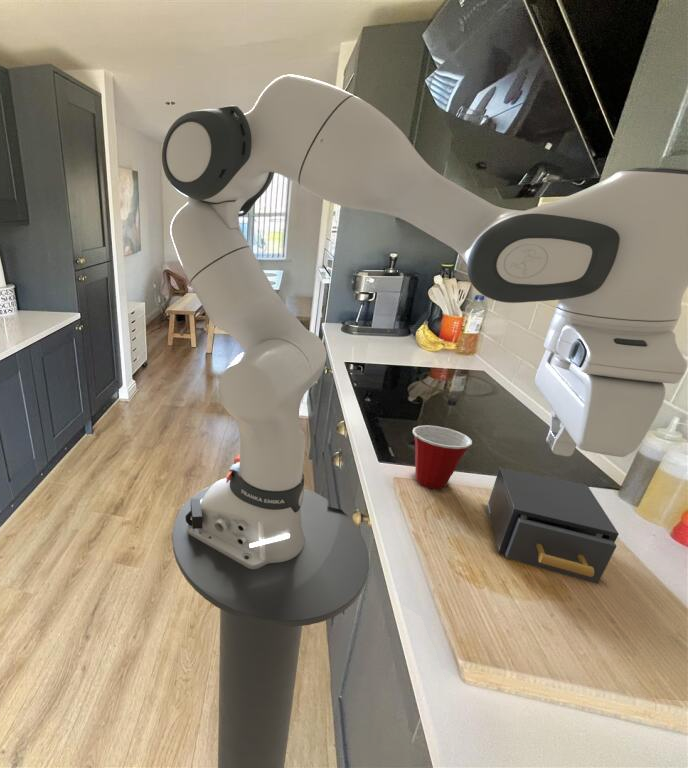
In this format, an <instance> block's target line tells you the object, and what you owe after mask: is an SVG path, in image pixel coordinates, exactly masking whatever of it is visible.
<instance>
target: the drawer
mask: <svg viewBox="0 0 688 768" xmlns="http://www.w3.org/2000/svg"><path fill="white" fill-rule="evenodd" d="M602 536H603V534H599V533H595V532H591V531H587V530H583V529H579V528H574V527H570V526H566V525H562V524H558V523H554V522H550V521H545V520H541V519H537V518H533V517H529V516H525V515H521V514H519V515H518V517H517V520H516V523H515V526H514V528H513V531H512V534H511V537H510V539H509V542H508V547H507V550H506V553H505V554H504V556H505V558H506V559H508V560H511V561H515V562H518V563H521V564H525V565H528V566H532V567H536V568H538V569H539V568H540V569H543V570H546V571H548V572H549V571H550V572H554V573H556V574H559V575H564V576H567V577H571V578H574V579H577V580H581V581H584V582H588V583H591V584H595V585H598V584H599V582H600V580H601V579H602V577H603V574H604V573H605V570H606V569H607V566H608V564H609V562H610V560H611V559H612V556H613V554H614V552H615V550H616V549H617V544H616V542H615V543H614V541H612V540H608V539H604V538H602Z"/></svg>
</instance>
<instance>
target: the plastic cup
mask: <svg viewBox="0 0 688 768" xmlns="http://www.w3.org/2000/svg"><path fill="white" fill-rule="evenodd" d="M412 434H413V437H414V446H415V447H414V449H415V451H414V455H415V456H414V465H415V472H414V473H415V479H416V481H417V482H418V483H419V484H420V485H422V486H424V487H426V488H430V489H433V490H434V489H437V490H439V489H443V488H445V487H446V485H447V484H448V482H449V481H450V480H451V479H450V478H451V476H453V474H454V472H455V470H456V468H457V466H458V465H459V463H460V461H461V459H462V458H463V456H464V454H465V452H466V451H467V450H468V449H469V447H471V446H472V445H473V440H472V439H471V438H470V437H469V436H468V435H466V434H464V433H462V432H460V431H457V430H454V429H452V428H447V427H442V426H438V425H429V424H427V425H426V424H425V425H418V426H416V427H413V429H412Z"/></svg>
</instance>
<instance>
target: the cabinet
mask: <svg viewBox="0 0 688 768" xmlns="http://www.w3.org/2000/svg"><path fill="white" fill-rule="evenodd" d="M486 509H487V514H488V517H489V521H490V526H491V528H492V529H491V530H492V532H493V536H494V540H495V544H496V548H497V552H498V553H499V554H501V555H505V553H506V550H507V547H508V542H509V539H510V537H511V534H512V531H513V528H514V526H515V523H516V520H517V517H518V515H519V514H521V515H525V516H529V517H533V518H537V519H541V520H545V521H550V522H554V523H558V524H562V525H566V526H570V527H574V528H579V529H583V530H587V531H591V532H595V533H599V534H603V536H602V538H604V539H608V540H612V541H614V543H615V544H616V541H617V539H618V536H619V531H617V529H616V527H615V526H614V523H613V522H612V521H611V519H610V518H609V516H608V515H607V513H606V512H605V510H604V509H603V507H602V506H601V504H600V502H599V501H598V500H597V498H596V496H595V495H594V493H593V492H592V490H591V489H590V487H589V486H588V484H583V483H579V482H574V481H569V480H564V479H559V478H555V477H549V476H544V475H540V474H536V473H535V474H534V473H530V472H525V471H519V470H515V469H510V468H504V467H499V469H498V471H497V475H496V478H495V480H494V483H493V486H492V490H491V493H490V496H489V500H488V502H487V505H486Z"/></svg>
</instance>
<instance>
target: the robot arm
mask: <svg viewBox="0 0 688 768" xmlns="http://www.w3.org/2000/svg"><path fill="white" fill-rule="evenodd" d="M161 162H162V163H161V164H162V169H163V172H164V175H165V176H166V179H167V181H168V183H169V184H170V185H171V186H172V187H173V188H174V190H176V191H177V192H178V193H180V194H182V195H183V196H185V197H187V198H188V199H187V201H186V203H185V204H184V205H182V206H181V207H180V208H179V209H178V211H177V212H176V214H175V215H174V216H173V219H172V220H171V224H170V236H171V240H172V242H173V246H174V249H175V252H176V255H177V258H178V260H179V262H180V266H181V267H182V270H183V272H184V274H185V276H186V278H187V280H188V282H189V283H190V285H191V287H192V290H193V292H194V293H195V295H196V297H197V298H198V300H199V302H200V304H201V306H202V308H203V310H204V312H205V313H206V315H207V318H208V319H209V321H210V323H211V324H212V325H213V326H214V327H215V328H217V329H218V330H220V331H222V332H224V333H226V334H227V335H229V336H230V337H231V338H232V339H233V340H235V342H236V343H237V344H238V345H239V346H240V347H241V348H242V349H243V352H241V353H239V354H238V355H237V356H236V357H235V358H234V359H233V360H232V361H231V363H230V364H228V366H227V367H226V368H225V370H224V371H223V372H222V374H221V376H220V378H219V381H218V395H219V399H220V402H221V404H222V406H223V408H224V409H225V411H226V412H227V413H228V414H229V415H230V416H231V417H232V418H233V419H235V420H236V423H237V427H238V434H239V453H238V454H237V455H236V457H235V458H234V459H233V464H232V465H231V466H230V467H229V471H228V473H227V475H226V477H224V478H221V479H218V480H217V481H216V482H214V483H213V484H212V485H210V486H211V487H210V486H209V487H210V488H209V489H208V491H207V492H206V494H205V495H204V497H203V498H202V499H201V500H200V498H199V499H191V511H190V512H189V513H188V514H187V515H186V522H187V531H188V533H189V534H190V535H191V536H193V537H195V538H196V539H198V540H200V541H202V542H203V543H205V544H207V545H209V546H210V547H212V548H214V549H216V550H217V551H219V552H221V553H223V554H224V555H226V556H228V557H230V558H231V559H233V560H235V561H237V562H238V563H240V564H242V565H244V566H245V567H247V568H249V569H258V568H260V567H262V566H264V565H266V564H270V563H279V562H284V561H288V560H290V559H292V558H294V557H296V556H297V555H298V554H299V553H300V552H301V551H302V549H303V547H304V543H305V537H304V533H303V529H302V524H301V512H300V507H301V505H302V503H303V496H304V488H305V474H304V463H305V454H306V443H307V439H306V435H305V432H304V431H303V430H302V429H301V423H300V414H299V412H300V406H301V403H302V400H303V398H304V396H305V394H306V393H307V392H308V391H309V389H311V388H312V387H313V386H314V385H315V384H316V383H317V382H318V381H319V379H320V378H321V376H322V374H323V372H324V368H325V365H326V362H327V350H326V347H325V346H326V345H325V344H324V342H323V341H322V339H321V338H320V337H319V336H318V335H317V334H316V333H315V332H313V331H311V330H308V329H307V328H306V326H305V325H303V323H302V322H301V321H300V320H299V319H298V318H297V316H296V315H295V314H294V313H293V312H292V310H291V309H290V308H289V307H288V306H287V305H286V304H285V302H284V301H283V299H282V298H281V297H280V296H279V295H278V293H277V292H276V290H275V289H274V287H273V285H272V284H271V282H270V280H269V279H268V277H267V275H266V273H265V271H264V269H263V267H262V266H261V264H260V262H259V260H258V259H257V256H256V255H255V253H254V251H253V249H252V247H251V246H250V243H249V242H248V240H247V239H246V237H245V234H244V233H243V231H242V228H241V226H240V223H239V218H240V217H243V216H244V217H245V216H246V215H247V214H248V213H249V212H250V210H251V209H252V207H253V206H254V205H255V203H256V202H257V201H258V200H259V198H261V197H262V196H263V194H264V193H265V192H266V191H267V190H268V188H269V186H270V185H271V183H272V181H273V180H274V177H275V173H276V174H278V175H281V176H282V177H284V178H286V179H287V180H290V181H291V182H293V183H294V184H295V185H297V186H299V187H300V188H302V189H303V190H305V191H306V192H308V193H310V194H312V195H313V196H315V197H318V198H320V199H321V200H324V201H327V202H329V203H332V204H334V205H337V206H340V207H344V208H347V209H350V210H351V209H352V210H359V211H367V212H376V213H381V214H385V215H389V216H392V217H395V218H398V219H400V220H403V221H405V222H406V223H409V224H411V225H412V226H414V227H415V228H418V229H419V230H421V231H422V232H425V233H426V234H427V235H429V236H431V237H433V238H434V239H436V240H438V241H440V242H442V243H443V244H444V245H446V246H447V247H449V248H451V249H453V251H455V252H456V253H457V254H458V255H459V256H460V258H461V259H462V260H463V262H464V264H465V266H466V271H467V272H466V273H467V276H468V280H469V281H470V283H471V285H472V286H473V287H474V289H475V290H476V291H477V292H479V293H480V294H481V295H483V296H484V297H486V298H488V299H489V300H492V301H496V302H500V303H506V304H524V303H537V302H549V301H558V302H557V304H556V307H555V310H554V313H553V316H552V319H551V322H550V325H549V328H548V330H547V334H546V336H545V339H544V342H543V347H544V349H545V351H544V354H543V356H542V359H541V361H540V363H539V365H538V368H537V369H536V373H535V377H534V385H535V387H536V388H537V390H538V391H539V393H540V394H541V395H542V397H543V398H544V400H545V402H546V403H547V405H549V407H550V408H551V411H550V417H549V431H548V433H547V436H546V439H545V441H546V443H547V445H548V446H549V448H550V450H551V452H552V453H553V454H554V455H556V456H562V457H571V456H572V455H573V454H574V453H575V450H576V448H577V447H578V449H580V450H581V451H584V452H589V453H594V454H600V455H605V456H611V457H617V458H625V457H627V456H628V455H631V454H632V453H634V452H635V451H636V450H637V449H638V448H639V447H640V445H641V444H642V442H643V440H644V439H645V437H646V435H648V432H649V431H650V429H651V427H652V425H653V423H654V422H655V420H656V418H657V416H658V414H659V412H660V410H661V408H662V406H663V404H664V401H665V397H666V387H665V384H672V385H675V384H678V383H679V382H680V381H681V380H682V379H683V377H684V375H685V374H686V371H687V368H688V364H687V363H688V362H687V360H686V359H685V357H684V355H683V354H682V352H681V351H680V348H679V347H678V344H677V341H676V333H675V332H674V330H675V328H676V326H677V324H678V322H679V319H680V317H681V314H682V302H683V301H682V300H683V297H684V294H685V292H686V290H687V289H688V168H678V167H634V168H627V169H626V168H625V169H623V170H619V171H616V172H615V173H614V174H612V175H610V176H609V177H607V178H605V179H604V180H602V181H599V182H597V183H596V184H593V185H591V186H589V187H587V188H584V189H582V190H580V191H578V192H575V193H572V194H570V195H567V196H565V197H562V198H559V199H556V200H554V201H551V202H548V203H545V204H542V205H539V206H538V205H537V206H535V207H531V208H513V207H512V208H510V207H504V206H502V205H501V206H500V205H498V204H494V203H492V202H489V201H488V200H486V199H484V198H482V197H480V196H478V195H477V194H475V193H473V192H471V191H469V190H467V189H466V188H464V187H463V186H461V185H459V184H457V183H455V182H453V181H452V180H449V179H448V178H446V177H445V176H443V175H442V174H440V173H439V172H437V171H436V170H435V169H433V168H432V167H431V166H430V165H429V164H428V162H426V160H424V158H423V157H422V156H421V154H420V153H419V152H418V151H417V150H416V148H415V147H414V145H413V144H412V143H411V141H410V140H409V139H408V137H407V136H406V134H405V133H404V132H403V131H402V130H401V129H400V128H399V127H398V126H397V125H396V124H395V123H394V122H393V121H392V120H391V119H390V118H389V117H388V116H386V115H385V114H384V113H383V112H381V111H380V110H378V109H377V108H376V107H374V106H373V105H372V104H371V103H369V102H367V101H365V100H364V99H362V98H360V97H358V96H355V95H354V94H352V93H350V92H348V91H346V90H344V89H341V88H339V87H338V86H335V85H332V84H330V83H327V82H324V81H321V80H319V79H314V78H310V77H306V76H302V75H297V74H284V75H281V76H279V77H277V78H275V79H274V80H273V81H271V82H270V83H269V84H268V85H267V86H266V87H265V88H264V90H263V91H262V92H261V94H260V95H259V96H258V99H257V100H256V102H255V104H254V106H253V107H252V109H251V110H249V111H248V112H246V113H244V112H243V111H242V110H241V109H240V107H239V106H237V105H235V104H234V105H227V106H222V107H221V106H220V107H216V108H206V109H205V108H204V109H198V110H193V111H190V112H189V111H188V112H186V113H185V114H183V115H181V116H179V117H178V118H177V119H176V120H175V121H174V122H173V123H172V124H171V126H170V127H169V128H168V130H167V133H166V135H165V136H164V141H163V143H162V150H161Z"/></svg>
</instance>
